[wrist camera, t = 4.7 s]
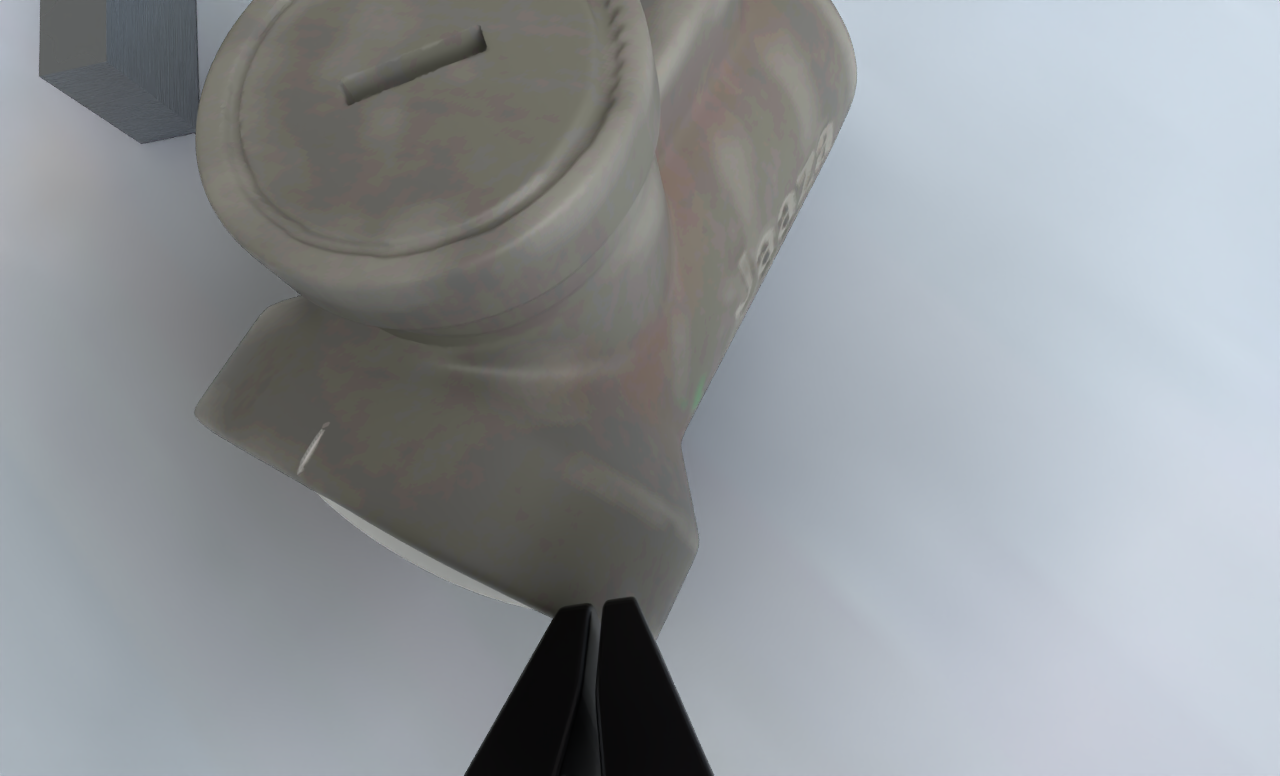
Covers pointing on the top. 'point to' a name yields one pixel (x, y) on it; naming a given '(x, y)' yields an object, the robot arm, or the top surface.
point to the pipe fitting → (509, 262)
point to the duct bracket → (125, 61)
